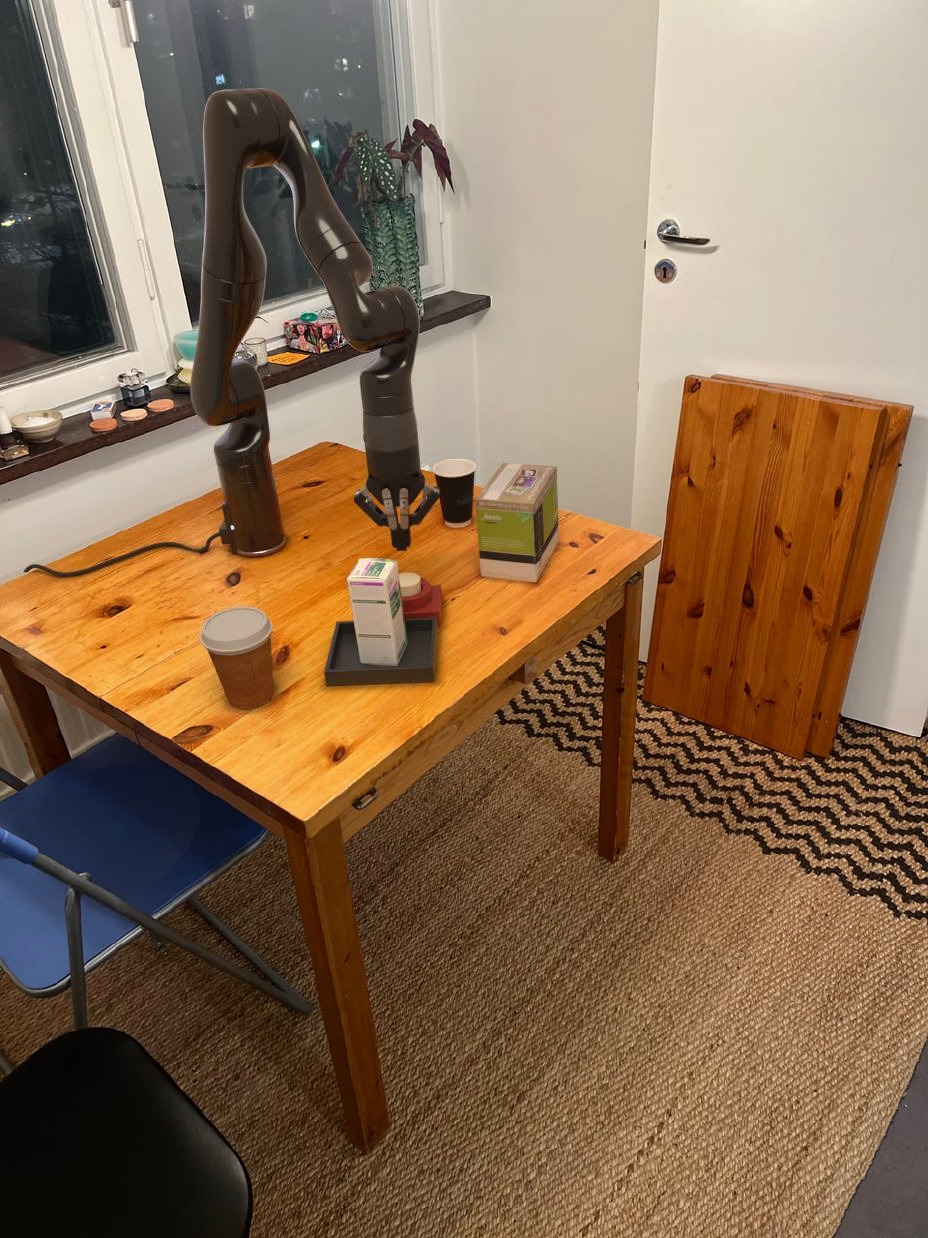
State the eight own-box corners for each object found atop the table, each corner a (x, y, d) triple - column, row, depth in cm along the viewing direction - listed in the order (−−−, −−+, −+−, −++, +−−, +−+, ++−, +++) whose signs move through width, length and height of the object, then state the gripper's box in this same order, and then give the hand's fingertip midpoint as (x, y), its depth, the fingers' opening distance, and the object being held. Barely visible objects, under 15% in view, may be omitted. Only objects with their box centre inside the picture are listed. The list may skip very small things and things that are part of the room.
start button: (391, 598, 139) (390, 587, 138) (394, 583, 142) (392, 572, 141) (420, 597, 138) (419, 585, 137) (422, 582, 142) (421, 571, 141)
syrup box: (398, 667, 130) (387, 578, 122) (358, 664, 131) (345, 576, 124) (408, 645, 135) (398, 558, 127) (369, 642, 136) (358, 556, 128)
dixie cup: (473, 532, 166) (469, 476, 160) (431, 530, 168) (426, 474, 162) (483, 514, 172) (480, 459, 167) (443, 511, 174) (439, 457, 168)
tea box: (505, 537, 164) (502, 460, 156) (560, 543, 160) (560, 464, 153) (478, 577, 152) (473, 496, 144) (536, 585, 149) (535, 502, 141)
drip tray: (326, 687, 128) (324, 672, 127) (338, 635, 139) (336, 621, 138) (434, 682, 127) (433, 667, 126) (437, 631, 139) (436, 616, 137)
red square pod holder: (375, 630, 140) (372, 602, 137) (380, 603, 146) (376, 576, 144) (440, 628, 139) (438, 600, 137) (442, 601, 146) (440, 573, 143)
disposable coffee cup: (221, 679, 131) (204, 608, 125) (288, 673, 131) (274, 601, 125) (211, 720, 123) (192, 646, 117) (282, 713, 123) (267, 639, 117)
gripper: (439, 427, 130) (446, 535, 140) (347, 431, 131) (360, 538, 140) (437, 446, 124) (445, 559, 133) (340, 451, 124) (355, 562, 134)
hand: (402, 548), depth 137 cm, fingers closed
